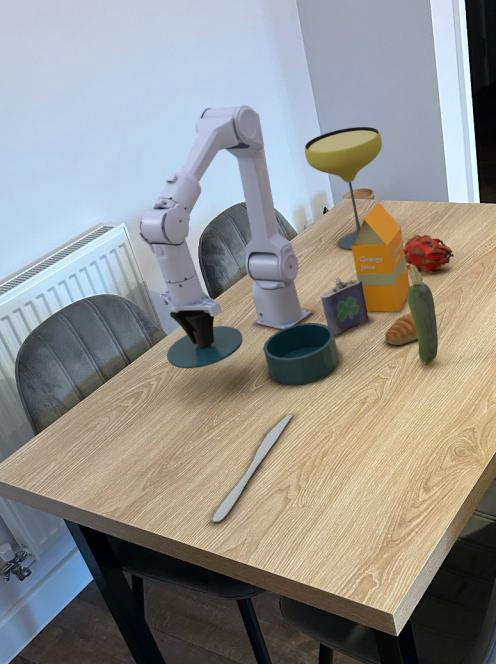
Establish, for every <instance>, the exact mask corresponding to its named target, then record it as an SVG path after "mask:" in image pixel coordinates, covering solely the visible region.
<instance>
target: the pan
mask: <svg viewBox="0 0 496 664" xmlns="http://www.w3.org/2000/svg"><path fill="white" fill-rule="evenodd" d="M262 350H263V353H264V356H265V360H266V363H267V367H268V370H269V373H270V376H271V378H272V379H273V380H274V381H275V382H277V383H279V384H282V385H288V386H298V385H306V384H310V383H313V382H317V381H319V380H321V379H323V378H325V377H327V376H329V375H330V374H332V372H333V371H335V369H336V368H337V367H338V365H339V363H340V355H339V350H338V346H337V341H336V336H334V333H333V331H332V329H331V328H330V327H328V326H327V324H323V323H318V322H305V323H297V324H296V325H293V326H290V327H287V328H284V329H279V330H278V331H276V332H275V333H273V334H272V335H270V337H268V339H267V340H266V341H265V342H264V345H263V348H262Z"/></svg>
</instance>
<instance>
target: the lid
mask: <svg viewBox="0 0 496 664" xmlns="http://www.w3.org/2000/svg"><path fill="white" fill-rule="evenodd" d="M193 334H194V337H195V339H196V342H197V344H193V342H192V341H191V339H190V338H189V336H188V335H187V334H186V335H184V336H182V337H181V338H179V339H178V340H176V341H175V342H173V344H172V345H171V346H170V347H169V349H168V350H167V353H166V358H167V361H168V363H169V364H170V365H172V366H173V367H176V368H179V369H196V368H203V367H208V366H211V365H214V364H217V363H220V362H221V361H224V360H225V359H227V358H229V357H230V356H232V355H233V354H234V353H235V352H237V351H238V350H239V348H240V347H241V346H242V344H243V340H244V337H243V334H242V332H241V330H239V329H238V328H235V327H233V326H229V325H228V326H227V325H217V326H216V325H215V326H213V335H214V343H212V344H211V345H209V346H208V347H204V346H203V345H202V343H201V341H200V339H199V337H198V335H197V332H196V331H195V329H194V330H193Z"/></svg>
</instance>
